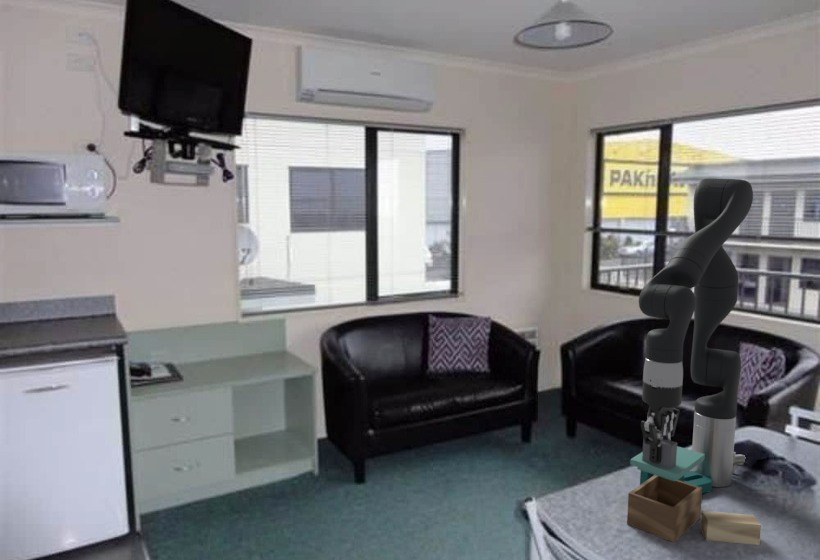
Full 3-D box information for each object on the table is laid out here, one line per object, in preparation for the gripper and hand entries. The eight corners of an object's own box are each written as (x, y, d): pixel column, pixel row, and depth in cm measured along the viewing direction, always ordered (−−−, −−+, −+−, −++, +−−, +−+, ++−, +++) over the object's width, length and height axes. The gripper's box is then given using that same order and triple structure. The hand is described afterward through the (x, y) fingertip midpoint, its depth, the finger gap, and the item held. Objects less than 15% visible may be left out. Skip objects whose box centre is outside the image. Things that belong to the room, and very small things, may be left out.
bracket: (660, 503, 138) (662, 470, 137) (639, 490, 144) (641, 459, 143) (718, 489, 145) (720, 458, 144) (695, 477, 151) (697, 447, 150)
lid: (658, 450, 138) (660, 420, 137) (704, 463, 130) (706, 432, 130) (630, 469, 128) (631, 436, 127) (677, 484, 121) (679, 450, 120)
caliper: (729, 477, 152) (730, 453, 152) (725, 475, 153) (726, 452, 153) (768, 458, 164) (770, 436, 163) (764, 457, 165) (766, 435, 164)
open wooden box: (655, 501, 139) (657, 473, 138) (700, 517, 132) (702, 487, 131) (627, 523, 129) (628, 493, 129) (673, 542, 122) (675, 510, 121)
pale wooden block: (700, 530, 127) (702, 510, 127) (751, 535, 125) (753, 515, 125) (706, 540, 123) (707, 520, 123) (759, 545, 122) (760, 525, 121)
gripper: (659, 370, 131) (655, 445, 133) (629, 383, 122) (625, 464, 124) (694, 377, 126) (690, 455, 128) (666, 392, 116) (661, 476, 118)
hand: (658, 459), depth 126 cm, fingers closed on lid, 2 cm apart
